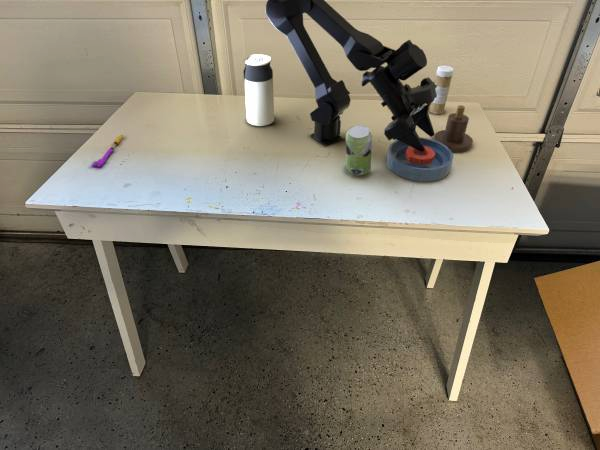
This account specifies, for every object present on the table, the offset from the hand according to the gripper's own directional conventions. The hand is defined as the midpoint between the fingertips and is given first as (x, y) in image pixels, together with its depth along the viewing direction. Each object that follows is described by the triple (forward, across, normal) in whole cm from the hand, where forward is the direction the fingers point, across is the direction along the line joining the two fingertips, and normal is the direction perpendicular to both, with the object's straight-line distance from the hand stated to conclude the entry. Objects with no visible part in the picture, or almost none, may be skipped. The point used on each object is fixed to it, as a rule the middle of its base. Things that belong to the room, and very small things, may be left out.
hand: (428, 143), depth 108 cm
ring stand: (+7, +16, +2) cm, 17 cm away
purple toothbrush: (-48, -33, +58) cm, 82 cm away
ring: (+2, 0, +4) cm, 5 cm away
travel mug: (-30, +2, +40) cm, 50 cm away
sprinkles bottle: (+1, +33, +9) cm, 34 cm away
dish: (+4, 0, +6) cm, 7 cm away
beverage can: (-5, -10, +15) cm, 19 cm away
